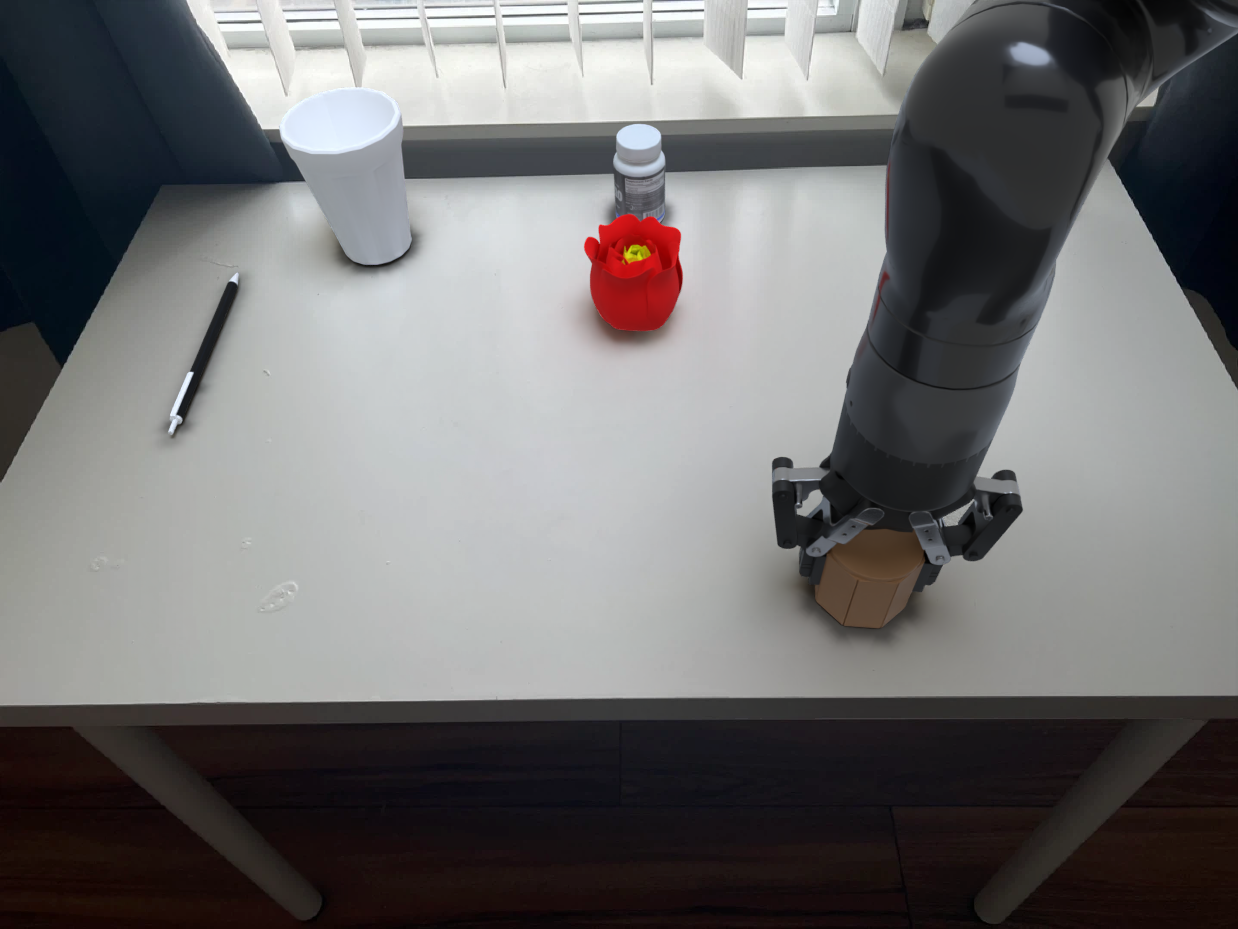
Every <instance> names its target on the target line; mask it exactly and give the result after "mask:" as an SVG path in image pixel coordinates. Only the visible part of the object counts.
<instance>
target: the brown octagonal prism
mask: <svg viewBox="0 0 1238 929" xmlns="http://www.w3.org/2000/svg"><path fill="white" fill-rule="evenodd" d="M826 556H827V558H826V561H825V565H824V569H823V573H822V576H821V580H820V584H819V585H814V600H815V602H816V603H817V604H818V605H819V606H821V607H822V608H823V609H824V610H825V612H827V613H828V614H829V615H831V617H832V618H834V619H835V620H836V621H837V622H838V623H839V624H840V625H841V626H844V627H856V628H868V629H869V628H871V629H883V628H884V627H885V626H886V625H887V624H889V622H891V621H892V620H893V619H894V618H895V617H896V616H897V615H898V614H900V613H901V612H902V611H903V610H904V609H905V608H906V606H907V604H908V602H909V599H910V596H911V594H912V593H913V592H912V590H913V588H914V585H915V583H916V581H917V578H918V576H919V574H920V571H921V569H922V567H923V564H924V562H925V556H924V550H923V549H922V547H921V544H920V542H919V539H918V537H917V535H916V532H915V530H913V532H912V533H910V532H898V531H893V530H889V529H878V530H862V531H861V532H860V533H858V534H857V535H856V536H855V537H854V538H852V539H851V540H850V541H849V542H848V543H846V544H845V545H842V544H839V543H838V544H836V545H835V546H834V547H833V548H832V549H830V550H829V551H828V552H827V553H826Z"/></svg>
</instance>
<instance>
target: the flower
mask: <svg viewBox="0 0 1238 929" xmlns="http://www.w3.org/2000/svg"><path fill="white" fill-rule="evenodd" d="M597 228H598V237H599V238H596V237H593V236H587V237H586V238H585V241H584V243H583V250H584V253H585V255H586V256H587V258H588V259H589V261H590V263H591V266H590V273H589V289H590V295H591V299H592V302H593V305H594V306H595V309H596V310H597V312H598V314H599V316H600V317H601V318H602V320H603V321H605V322H606V323H607V324H608V325H610V326H611V327H612V328H613V329H615V330H619V331H629V332H652V331H657V330H658V329H660V328H662V327H663V326H664V325H665V323H666V322H667V321H668V320H669V318H670V317H671V315H672V313H673V311H674V309H675V307H676V305H677V303H678V299H679V296H680V294H681V292H682V288H683V283H684V273H683V272H684V271H683V267H682V263H681V260H680V249H681V247H680V246H681V242H682V232H681V230H679V229H678V228H677V227H674V226H668V225H664V224H662V223H661V222H660V223H659V222H658V221H657V219H656V218H655V217H652V216H650V217H647V218H645V219H643V220H642V221H641V222H640V221H639V219H638V218H637V217H636V216H635V215H633V214H626V215H622V216H620V217H618V218H617V217H615V219H614V220H612V222H611V223H609V224H601V223H600V224H598V227H597ZM598 239H599V240H598Z"/></svg>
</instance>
